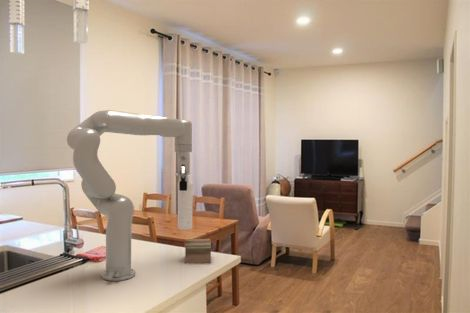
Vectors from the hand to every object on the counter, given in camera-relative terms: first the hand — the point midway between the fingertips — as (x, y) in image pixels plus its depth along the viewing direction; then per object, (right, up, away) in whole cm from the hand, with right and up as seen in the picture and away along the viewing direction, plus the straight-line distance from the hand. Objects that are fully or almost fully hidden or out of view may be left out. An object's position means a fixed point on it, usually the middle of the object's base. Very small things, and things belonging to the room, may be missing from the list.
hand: (183, 188), depth 169 cm
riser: (+6, -32, +3) cm, 33 cm away
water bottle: (0, -18, +1) cm, 18 cm away
